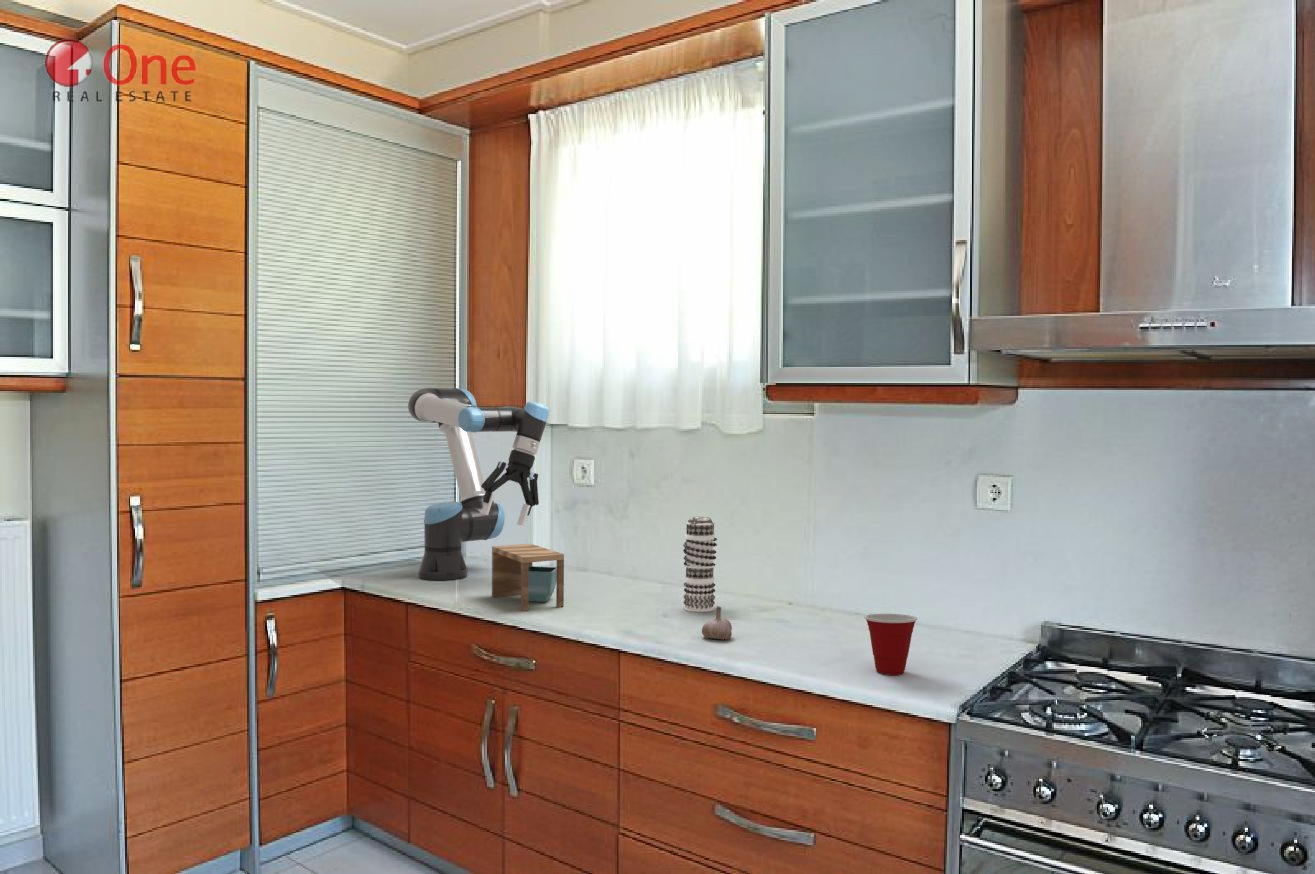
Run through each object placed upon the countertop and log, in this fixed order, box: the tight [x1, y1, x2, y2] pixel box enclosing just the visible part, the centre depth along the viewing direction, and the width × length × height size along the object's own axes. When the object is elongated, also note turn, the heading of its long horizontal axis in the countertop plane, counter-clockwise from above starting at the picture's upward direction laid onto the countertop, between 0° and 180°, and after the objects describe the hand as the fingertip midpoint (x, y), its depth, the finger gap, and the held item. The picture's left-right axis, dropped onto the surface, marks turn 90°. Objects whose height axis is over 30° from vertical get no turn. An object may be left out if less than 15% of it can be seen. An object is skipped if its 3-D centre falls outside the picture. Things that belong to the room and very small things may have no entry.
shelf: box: [491, 543, 565, 612], centre depth 273 cm, size 22×12×14 cm, turn 31°
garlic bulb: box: [701, 605, 733, 641], centre depth 233 cm, size 8×7×8 cm
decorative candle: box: [682, 516, 718, 613], centre depth 266 cm, size 9×9×25 cm
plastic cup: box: [864, 613, 918, 676], centre depth 205 cm, size 11×11×12 cm
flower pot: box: [528, 565, 557, 603], centre depth 276 cm, size 9×9×9 cm
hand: (502, 519), depth 292 cm, fingers open, 13 cm apart
